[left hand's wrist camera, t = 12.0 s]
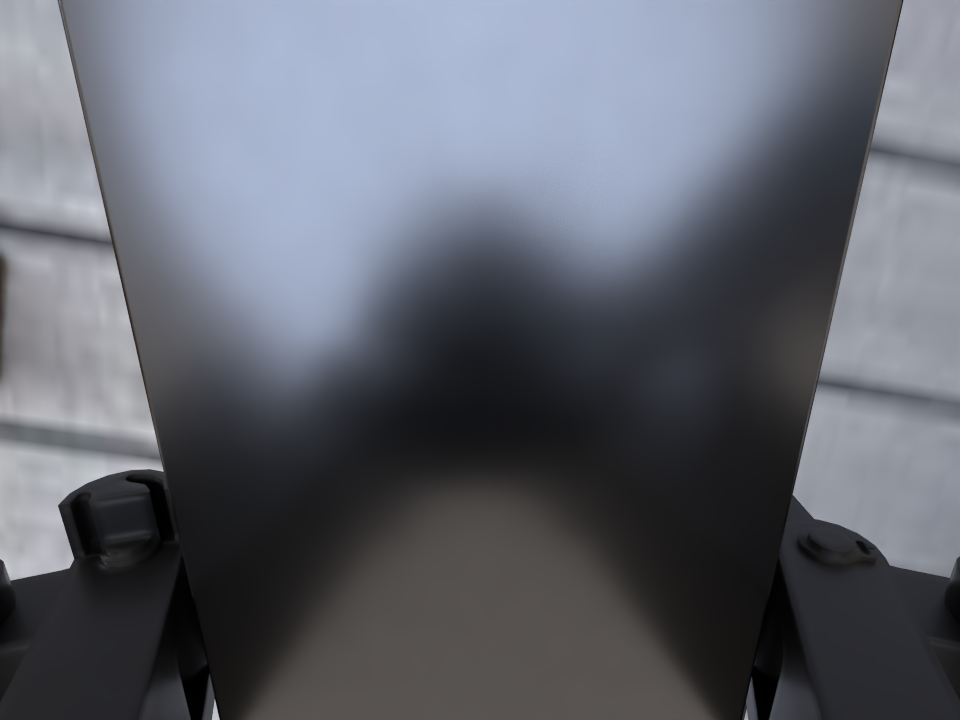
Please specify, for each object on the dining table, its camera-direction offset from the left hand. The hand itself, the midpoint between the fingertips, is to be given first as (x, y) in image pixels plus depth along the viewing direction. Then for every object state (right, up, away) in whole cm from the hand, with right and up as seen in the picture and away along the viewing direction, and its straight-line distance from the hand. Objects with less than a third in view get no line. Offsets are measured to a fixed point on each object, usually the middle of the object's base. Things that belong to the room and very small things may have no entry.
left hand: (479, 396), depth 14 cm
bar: (0, +9, -3) cm, 9 cm away
